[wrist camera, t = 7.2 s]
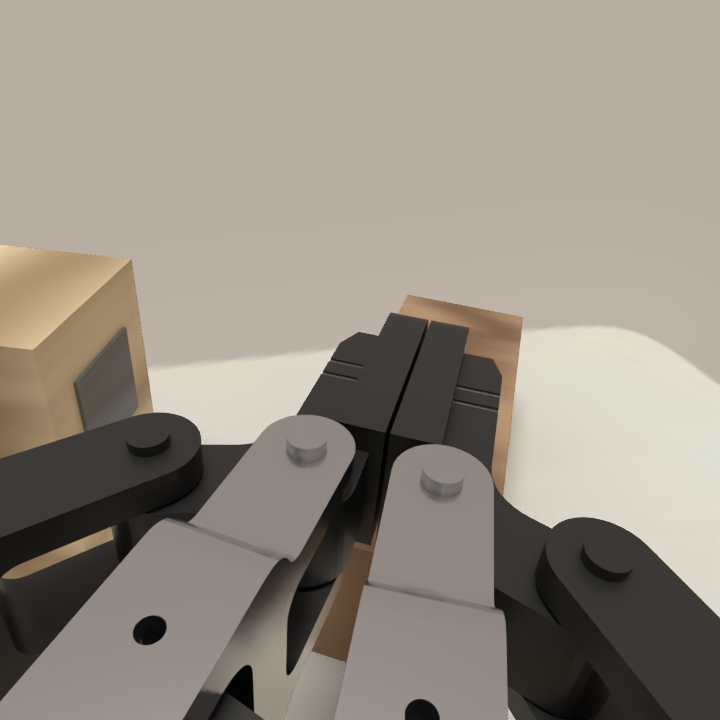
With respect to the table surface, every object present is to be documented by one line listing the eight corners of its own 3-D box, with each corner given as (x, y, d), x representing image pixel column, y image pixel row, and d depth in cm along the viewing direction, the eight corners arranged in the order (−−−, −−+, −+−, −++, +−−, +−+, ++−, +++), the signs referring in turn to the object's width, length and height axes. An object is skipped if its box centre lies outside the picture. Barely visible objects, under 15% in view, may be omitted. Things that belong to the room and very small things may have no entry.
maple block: (-64, 588, 18) (-193, 323, 13) (31, 472, 22) (-39, 240, 17) (104, 610, 17) (37, 350, 12) (166, 488, 22) (135, 259, 17)
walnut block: (287, 527, 14) (407, 294, 26) (285, 646, 17) (395, 387, 29) (497, 588, 13) (525, 317, 25) (460, 704, 16) (501, 411, 28)
